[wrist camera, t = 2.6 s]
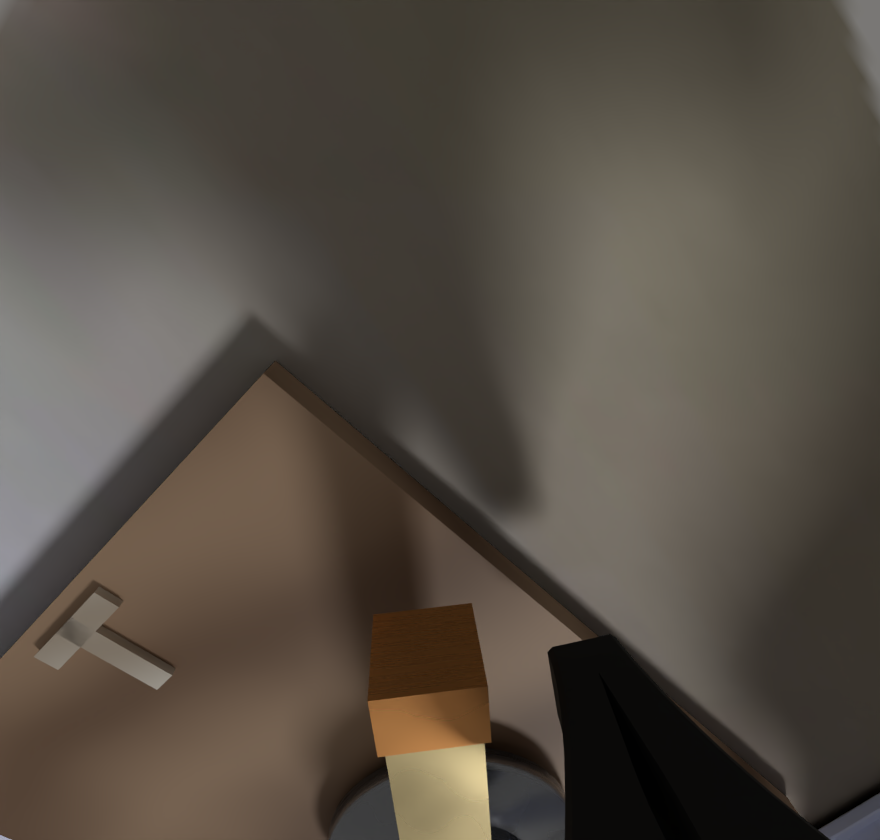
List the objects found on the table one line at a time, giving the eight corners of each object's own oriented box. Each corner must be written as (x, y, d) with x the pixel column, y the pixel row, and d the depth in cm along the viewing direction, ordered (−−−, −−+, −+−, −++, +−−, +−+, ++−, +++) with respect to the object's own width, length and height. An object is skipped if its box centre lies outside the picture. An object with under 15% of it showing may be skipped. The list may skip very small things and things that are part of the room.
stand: (787, 797, 17) (814, 836, 16) (472, 994, 20) (476, 1039, 19) (275, 360, 11) (260, 376, 10) (-82, 748, 14) (-125, 794, 13)
